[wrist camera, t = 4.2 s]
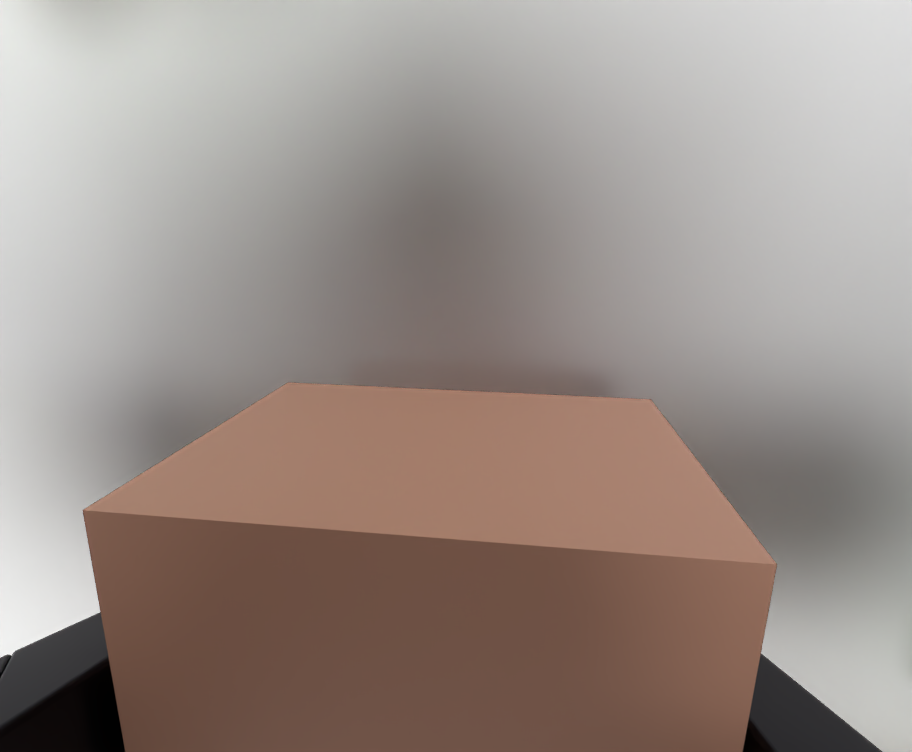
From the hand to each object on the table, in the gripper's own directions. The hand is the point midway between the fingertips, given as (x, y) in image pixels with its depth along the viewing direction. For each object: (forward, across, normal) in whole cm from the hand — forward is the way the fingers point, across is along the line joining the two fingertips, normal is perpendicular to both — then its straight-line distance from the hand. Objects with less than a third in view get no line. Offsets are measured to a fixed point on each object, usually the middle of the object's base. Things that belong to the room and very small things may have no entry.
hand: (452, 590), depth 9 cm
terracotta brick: (+1, 0, 0) cm, 1 cm away
